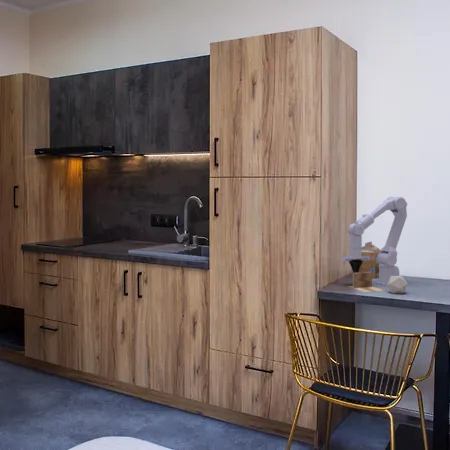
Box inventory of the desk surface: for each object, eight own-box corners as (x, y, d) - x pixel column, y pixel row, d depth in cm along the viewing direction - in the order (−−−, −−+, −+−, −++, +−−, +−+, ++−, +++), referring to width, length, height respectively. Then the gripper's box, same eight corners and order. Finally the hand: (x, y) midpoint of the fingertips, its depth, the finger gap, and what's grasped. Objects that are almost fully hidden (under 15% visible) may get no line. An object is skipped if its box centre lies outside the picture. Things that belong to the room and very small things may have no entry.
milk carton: (374, 278, 289) (374, 243, 288) (355, 277, 295) (355, 242, 294) (380, 276, 298) (381, 241, 297) (362, 274, 304) (362, 241, 302)
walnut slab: (369, 286, 266) (369, 271, 265) (371, 286, 264) (371, 272, 263) (352, 287, 263) (352, 272, 263) (355, 287, 261) (355, 273, 260)
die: (404, 296, 242) (413, 278, 245) (386, 287, 244) (395, 269, 246) (398, 299, 250) (407, 282, 253) (381, 290, 251) (390, 273, 254)
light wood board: (368, 285, 269) (368, 284, 269) (387, 290, 254) (387, 290, 254) (347, 286, 265) (347, 286, 265) (365, 292, 250) (365, 292, 250)
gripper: (364, 246, 274) (364, 273, 275) (338, 247, 270) (338, 274, 271) (371, 247, 267) (371, 275, 268) (345, 248, 263) (345, 276, 264)
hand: (355, 274), depth 269 cm, fingers closed
